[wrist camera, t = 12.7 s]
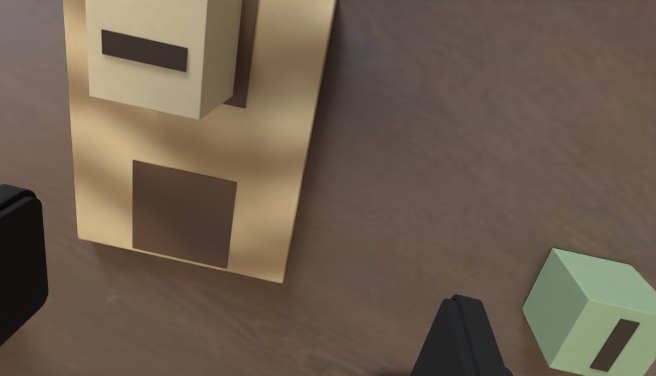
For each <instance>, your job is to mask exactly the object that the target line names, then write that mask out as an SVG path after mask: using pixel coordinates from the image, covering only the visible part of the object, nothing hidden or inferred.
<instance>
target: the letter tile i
mask: <svg viewBox="0 0 656 376" xmlns="http://www.w3.org/2000/svg"><path fill="white" fill-rule="evenodd" d="M522 311H523V313H524V315H525V317H526V319H527V321H528V323H529V326H530V328H531V330H532V332H533V334H534V336H535V338H536V340H537V342H538V345H539V347H540V349H541V351H542V353H543V355H544V357H545V359H546V362H547V364H548V366H549V368H553V369H557V370H562V371H566V372H571V373H575V374H580V375H584V376H644V374H645V373H646V371H647V370H648V369H649V367H650V366H651V365H652V363H653V362H654V360H655V359H656V291H655V290H654V289H653V288H652V287H651V286H650V285H649V284H648V283H647V282H646V281H645V280H644V279H643V277H642V276H641V275H640V274H639V273H638V272H637V271H636V270H635V269H634V268H633V267H632V266H631V265H628V264H623V263H619V262H614V261H610V260H605V259H601V258H596V257H592V256H587V255H583V254H578V253H574V252H569V251H565V250H560V249H556V248H552V250H551V252H550V254H549V256H548V258H547V260H546V262H545V264H544V266H543V268H542V270H541V272H540V274H539V276H538V278H537V280H536V282H535V284H534V286H533V288H532V290H531V292H530V294H529V296H528V297H527V299H526V301H525V303H524V305H523V307H522Z"/></svg>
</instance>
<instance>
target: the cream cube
mask: <svg viewBox="0 0 656 376" xmlns="http://www.w3.org/2000/svg"><path fill="white" fill-rule="evenodd" d="M85 5H86V28H87V51H88V73H89V95H90V96H91V97H95V98H100V99H105V100H109V101H114V102H118V103H123V104H127V105H132V106H137V107H141V108H146V109H150V110H155V111H159V112H164V113H168V114H173V115H178V116H182V117H187V118H191V119H196V120H200V119H202V118H203V117H204V116H206V115H207V114H208V113H210V112H211V111H213V110H214V109H215V108H217V107H218V106H219V105H221V104H222V103H223V102H225V101H226V100H227V99H229V98H230V97H232V96H233V88H234V78H235V68H236V58H237V48H238V39H239V29H240V19H241V9H242V0H85Z"/></svg>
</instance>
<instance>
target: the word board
mask: <svg viewBox="0 0 656 376" xmlns="http://www.w3.org/2000/svg"><path fill="white" fill-rule="evenodd" d="M336 5H337V0H242V9H241V19H240V29H239V39H238V48H237V58H236V68H235V78H234V88H233V96H232V97H230V98H229V99H227V100H226V101H225V102H223V103H222V104H221V105H219V106H218V107H217V108H215V109H214V110H213V111H211V112H210V113H208V114H207V115H206V116H204V117H203V118H202V119H200V120H196V119H191V118H187V117H182V116H178V115H173V114H168V113H164V112H159V111H155V110H150V109H146V108H141V107H137V106H132V105H127V104H123V103H118V102H114V101H109V100H105V99H100V98H95V97H91V96H90V95H89V73H88V51H87V28H86V5H85V0H63V7H64V23H65V39H66V55H67V70H68V86H69V102H70V118H71V134H72V149H73V165H74V181H75V197H76V213H77V228H78V238H79V239H83V240H88V241H92V242H97V243H101V244H106V245H110V246H115V247H119V248H124V249H128V250H133V251H138V252H142V253H147V254H151V255H156V256H160V257H165V258H169V259H174V260H178V261H183V262H187V263H192V264H196V265H201V266H205V267H210V268H214V269H219V270H223V271H228V272H232V273H237V274H241V275H246V276H250V277H255V278H259V279H264V280H268V281H273V282H277V283H283V280H284V277H285V273H286V268H287V263H288V257H289V252H290V247H291V242H292V236H293V231H294V226H295V220H296V215H297V210H298V205H299V199H300V194H301V189H302V184H303V178H304V173H305V168H306V163H307V157H308V152H309V147H310V142H311V136H312V131H313V126H314V120H315V115H316V110H317V105H318V99H319V94H320V89H321V84H322V78H323V73H324V68H325V63H326V57H327V52H328V47H329V42H330V36H331V31H332V26H333V20H334V15H335V10H336Z"/></svg>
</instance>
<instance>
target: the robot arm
mask: <svg viewBox="0 0 656 376" xmlns="http://www.w3.org/2000/svg"><path fill="white" fill-rule="evenodd" d="M47 296H48V279H47V266H46V253H45V240H44V227H43V214H42V204H41V202H40V200H39V199H37V198H36V195H35V194H34V192H32V191H31V190H27V189H23V188H19V187H15V186H11V185H6V184H2V185H0V346H1V345H2V344H3V343H4V342H5V341H6V340H8V339H9V338H10V337H11V336H12V335H13V334H14V333H15V332H16V331H17V330H18V329H19V328H20V327H21V326H22V325H23V324H24V323H25V322H26V321H28V320H29V319H30V318H31V317H32V316H33V315H34V314H35V313H36V312H37V311H38V310H39V309H40V308H41V307H42V306H43V305H44V303H45V301H46V299H47ZM410 376H513V374H512V373H511V371H510V370H509V369H508V368H505V366H504V363H503V360H502V357H501V354H500V352H499V349H498V346H497V343H496V340H495V337H494V334H493V332H492V329H491V326H490V323H489V320H488V317H487V314H486V312H485V309H484V306H483V304H482V302H481V301H480V300H478V299H474V298H470V297H466V296H461V295H457V294H455V295H453V296H452V298H451V299H447V298H446V299H444V300H443V301H442V303H441V306H440V308H439V310H438V312H437V315H436V317H435V319H434V322H433V324H432V326H431V329H430V331H429V333H428V336H427V338H426V340H425V342H424V345H423V347H422V349H421V352H420V354H419V356H418V359H417V361H416V363H415V366H414V368H413V370H412V372H411V375H410Z"/></svg>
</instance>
